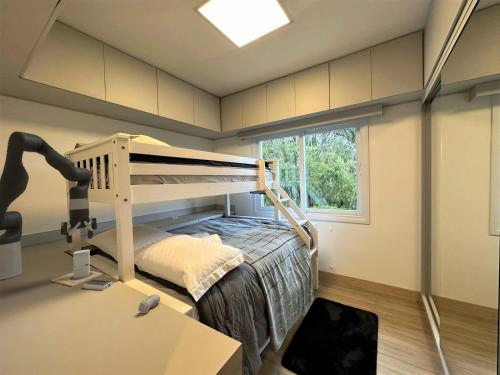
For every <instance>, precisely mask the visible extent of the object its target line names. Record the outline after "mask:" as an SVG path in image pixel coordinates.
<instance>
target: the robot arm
mask: <svg viewBox="0 0 500 375" xmlns="http://www.w3.org/2000/svg"><path fill="white" fill-rule="evenodd" d="M6 148H7V149H6V155H5V161H4V165H3V169H2V173H1V176H0V232H1V231H4V233H3V234H1V235H0V280H5V279H6V280H7V279H10V278H14V277H17V276H19V275H21V274H23V269H22V267H23V265H22V246H21V245H22V244H21V242H22V241H21V239H22V238H21V237H22V235H23V216H22V214H21V213H20V212H19V211H17V210H8V208H9V207H10V206H11V205H12V203H14V201H16V200H17V199H19V197H20V196H21V195H22V194H24V192H25V191H26V189H27V187H28V184H29V179H30V177H29V173H28V171H27V170H26V167H25V165H24V163H23V156H24V152H27V153H36V154H39V155H40V156H42V157H44V159H45V162H46V163H47V164H48V165H49V166H50V167H51V168H53V169H55V170H56V171H58V172H59V173H60V174H61V176H62V177H63V179H65V180H67V181H69V182H73V183H74V182H75V183H76V182H77V183H76V185H75V186H71V187H70V188H69V193H68V194H69V202H68V214H69V217H68V218H69V221H62V222H61V223H60V235H61V236H66V239H65V241H66V243H67V244H72V243H73V233H74V232H75V231H76V230H80V229H86V230H87V239H88V240H90V239H93V237H94V231H95V230H97V229H98V222H97V221H98V220H97V218H96V217H90V202H89V188H90V186H91V181H92V172H91V171H90V170H89V168H85V167H77V166H75V164H74V161H73V162H72V160H70V159H69V158H67V157H66V156H64V155H62V154H61V153H59V152H58V151H57V150H55V149H54V148H53V147H52V146H51V145H50V144H49V143H48V142H47V141H46V140H45V139H43V137H41V136H39V135H38V134H34V133H30V132H25V131H19V130H18V131H17V130H16V131H13V132H11V134H10V135H9V138H8V141H7V147H6ZM89 223H90V224H91V225H90V224H89ZM69 225H70V227H69ZM68 227H69V228H68Z"/></svg>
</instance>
